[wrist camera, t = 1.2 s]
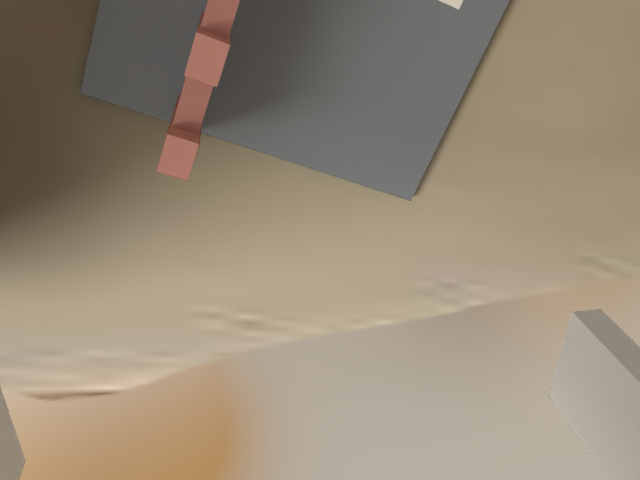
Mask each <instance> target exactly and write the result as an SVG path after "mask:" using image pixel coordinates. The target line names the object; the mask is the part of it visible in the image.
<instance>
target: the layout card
mask: <svg viewBox="0 0 640 480" xmlns="http://www.w3.org/2000/svg"><path fill="white" fill-rule="evenodd" d="M509 1H510V0H240V2H239V5H238V8H237V12H236V15H235V18H234V21H233V24H232V28H231V31H230V48H229V51H228V54H227V57H226V61H225V64H224V67H223V70H222V73H221V77H220V80H219V83H218V86H217V87H215V86H213V89H212V92H211V95H210V99H209V102H208V105H207V108H206V112H205V115H204V118H203V121H202V127H201V133H204V134H207V135H210V136H213V137H216V138H219V139H222V140H225V141H228V142H231V143H234V144H237V145H240V146H244V147H247V148H250V149H253V150H256V151H259V152H262V153H265V154H268V155H271V156H274V157H277V158H280V159H283V160H286V161H290V162H293V163H296V164H299V165H302V166H305V167H308V168H311V169H314V170H317V171H320V172H323V173H326V174H329V175H332V176H336V177H339V178H342V179H345V180H348V181H351V182H354V183H357V184H360V185H363V186H366V187H369V188H372V189H375V190H378V191H382V192H385V193H388V194H391V195H394V196H397V197H400V198H403V199H406V200H409V201H411V199H412V197H413V195H414V193H415V191H416V189H417V187H418V185H419V183H420V181H421V179H422V177H423V175H424V173H425V171H426V169H427V167H428V165H429V163H430V161H431V159H432V157H433V155H434V153H435V151H436V149H437V147H438V145H439V143H440V141H441V139H442V137H443V135H444V133H445V131H446V128H447V126H448V124H449V122H450V120H451V118H452V116H453V114H454V112H455V110H456V108H457V106H458V104H459V102H460V100H461V98H462V96H463V94H464V92H465V90H466V88H467V86H468V84H469V82H470V80H471V78H472V76H473V74H474V72H475V70H476V68H477V66H478V64H479V62H480V60H481V58H482V56H483V54H484V52H485V50H486V48H487V46H488V44H489V42H490V40H491V38H492V36H493V34H494V31H495V29H496V27H497V25H498V23H499V21H500V19H501V17H502V15H503V13H504V11H505V9H506V7H507V5H508V3H509ZM207 2H208V0H100V2H99V7H98V12H97V16H96V21H95V26H94V30H93V35H92V40H91V44H90V49H89V54H88V58H87V63H86V68H85V72H84V77H83V82H82V86H81V91H80V93H81V94H84V95H87V96H90V97H93V98H96V99H99V100H102V101H106V102H109V103H112V104H115V105H118V106H121V107H124V108H127V109H130V110H133V111H136V112H139V113H142V114H145V115H148V116H152V117H155V118H158V119H161V120H164V121H167V122H171V119H172V116H173V112H174V109H175V106H176V102H177V99H178V95H179V94H181V92H182V89H183V85H184V82H185V78H186V76H184V73H185V70H186V66H187V63H188V59H189V56H190V52H191V49H192V45H193V42H194V38H195V35H196V31H197V28H198V25H199V22H200V18H201V15H202V12H205V9H206V5H207Z"/></svg>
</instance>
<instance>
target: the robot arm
mask: <svg viewBox="0 0 640 480" xmlns="http://www.w3.org/2000/svg"><path fill="white" fill-rule="evenodd" d="M549 397H550V398H551V400H552V401H553V403H554V404H555V405H556V407H557V408H558V409H559V411H560V412H561V413H562V415H563V416H564V418H565V419H566V420H567V422H568V423H569V425H570V426H571V427H572V429H573V430H574V431H575V433H576V434H577V435H578V437H579V438H580V440H581V441H582V442H583V444H584V445H585V446H586V448H587V449H588V450H589V452H590V453H591V454H592V456H593V457H594V459H595V460H596V461H597V463H598V464H599V465H600V467H601V468H602V469H603V471H604V472H605V473H606V475H607V476H608V478H609V479H610V480H640V347H639V346H638V345H637V344H636V343H635V342H634V341H633V340H632V339H631V338H630V337H629V336H628V335H627V334H626V333H625V332H624V331H623V330H621V329H620V328H619V327H618V326H617V325H616V324H615V323H614V322H613V321H612V320H611V319H610V318H609V317H608V316H607V315H606V314H605V313H604V312H603V311H602V310H601V309H597V310H587V311H577V312H572V315H571V318H570V322H569V326H568V329H567V332H566V336H565V339H564V343H563V346H562V350H561V354H560V357H559V360H558V364H557V367H556V371H555V374H554V378H553V382H552V385H551V389H550V392H549ZM24 464H25V458H24V455H23V452H22V450H21V447H20V444H19V441H18V438H17V435H16V432H15V429H14V426H13V423H12V420H11V417H10V414H9V411H8V408H7V405H6V402H5V399H4V396H3V393H2V390H1V387H0V480H19V479H20V476H21V473H22V470H23V467H24Z"/></svg>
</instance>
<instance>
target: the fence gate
mask: <svg viewBox="0 0 640 480" xmlns="http://www.w3.org/2000/svg"><path fill="white" fill-rule="evenodd" d="M239 2H240V0H208V2H207V5H206V9H205V12H202V15H201V18H200V22H199V25H198V28H197V31H196V35H195V38H194V42H193V45H192V49H191V52H190V56H189V59H188V63H187V66H186V70H185V73H184V76H186V78H185V82H184V85H183V89H182V92H181V94H179V95H178V99H177V102H176V106H175V109H174V112H173V116H172V119H171V122H170V126H169V129H168V133H167V136H166V140H165V143H164V147H163V150H162V154H161V157H160V161H159V164H158V168H157V171H156V172H160V173H163V174H166V175H170V176H173V177H177V178H180V179H183V180H187V181H188V179H189V176H190V172H191V169H192V166H193V163H194V160H195V156H196V153H197V150H198V147H199V143H200V135H201V127H202V121H203V118H204V115H205V112H206V108H207V105H208V102H209V99H210V95H211V92H212V89H213V86H215V87H217V86H218V83H219V80H220V77H221V73H222V70H223V67H224V64H225V61H226V57H227V54H228V51H229V48H230V31H231V28H232V24H233V21H234V18H235V15H236V12H237V8H238V5H239Z"/></svg>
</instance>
